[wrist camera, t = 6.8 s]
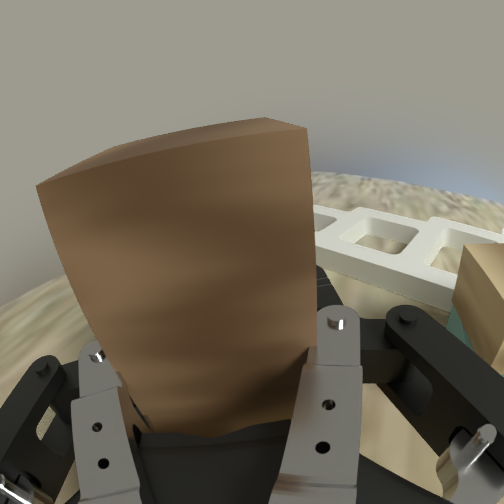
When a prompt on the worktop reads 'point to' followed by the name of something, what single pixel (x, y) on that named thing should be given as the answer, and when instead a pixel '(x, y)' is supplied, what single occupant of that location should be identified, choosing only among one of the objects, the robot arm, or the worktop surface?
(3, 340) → the worktop surface
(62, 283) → the worktop surface
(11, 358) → the worktop surface
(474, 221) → the worktop surface
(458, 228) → the holder
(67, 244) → the walnut column
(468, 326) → the tower mid
